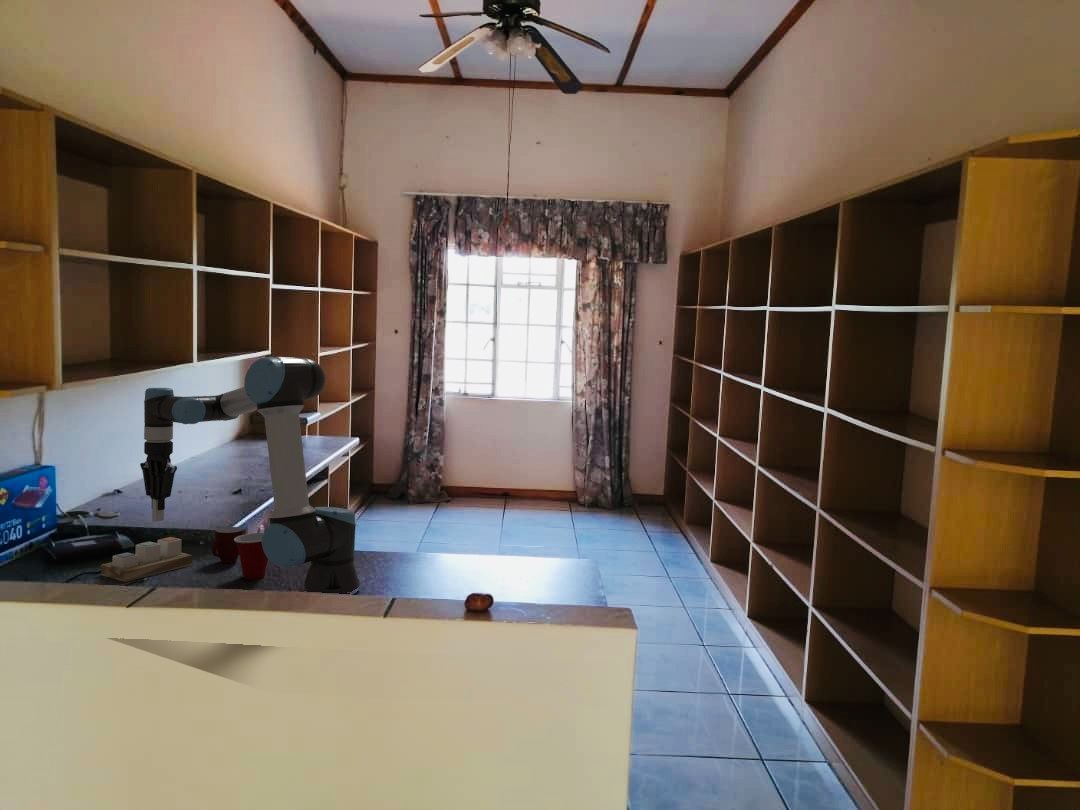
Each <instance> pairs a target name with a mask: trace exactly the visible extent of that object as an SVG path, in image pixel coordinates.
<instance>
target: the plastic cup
mask: <svg viewBox="0 0 1080 810" xmlns="http://www.w3.org/2000/svg"><path fill="white" fill-rule="evenodd" d="M263 533H264V532H252V533H246V534H243V535H241V536H238V537H236V538H235V539H234V541H235V542H236V544H237V547H238V550H239V561H240V566H241V572H242V576H243V578H244V579H246V580H257V579H262V578H264V577H265V575H266V571H267V566H268V561H269V559H268V558H267V556H266V555H265V553H264V550H263V547H262V534H263Z"/></svg>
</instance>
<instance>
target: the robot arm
mask: <svg viewBox="0 0 1080 810" xmlns="http://www.w3.org/2000/svg"><path fill="white" fill-rule="evenodd" d="M325 386H326V373H325V371H324V369H323V368H322V366H321V365H320V364H319V363H318V362H316V361H314V360H313V359H310V358H307V357H289V356H288V357H287V356H267V357H266V356H265V357H260V358H258V359H256V360H255V361H253V363H251V364H250V366H249V368H248V369H247V370H246V374H245V377H244V386H243V387H240V388H235V389H232V390H231V391H230V390H229V391H228V392H224V393H221V394H217V395H202V396H201V395H198V396H196V395H195V396H179V395H177V396H175V395H174V394H175V393H174V390H173V388H170V387H148V388H146V389H145V391H144V401H143V405H144V406H143V408H144V409H143V410H144V419H143V420H144V421H143V422H144V427H143V428H144V430H143V439H144V443H143V453H144V454H145V455H146V459H145V461H144V462H141V463H139V465H140V469H141V471H142V478H143V484H144V490H145V495H146V496H149V497H150V499H151V511H152V513H151V514H152V515H151V516H152V517H151V521H152V522H155V523H157V522H161V521H165V509H166V507H165V506H166V499H167V498H170V497H171V496H172V495H171V494H172V491H173V490H172V489H173V484H174V479H175V474H176V471H177V470H178V466H177V465H173V464H172V460H171V455H172V454H173V453H174V442H173V441H172V440H173V439H174V423H176V424H177V423H178V424H183V425H196V424H198V423H206V422H216V421H217V422H218V421H219V422H220V421H223V422H226V421H231V420H236V419H238V418H239V416H240V415H244V414H247V413H251V412H254V411H257V412H258V413H259V414H261V416H262V417H264V425H265V434H266V445H267V450H268V451H267V453H268V460H269V469H270V471H269V472H270V478H271V479H270V481H271V488H272V489H271V490H272V497H273V499H272V500H273V506H274V509H273V511H272V512H271V513H270V515H268V516H269V517H268V519H269V525H268V526H266V527H265V528H264V531H263V532H262V533H263V534H262V547H263V550H264V553H265V555H266V556H267V558H268V561H270V562H271V563H272V564H273V565H274V566H276V567H278V568H282V569H284V568H285V569H287V568H292V567H299V566H301V565H303V564H307V563H310V564H309V567H308V569H307V572H306V575H305V576H306V577H305V580H304V581H303V584H302V585H303V587H302V592H303V591H307V592H322V593H339V594H350V593H347V592H352V591H353V590H355V589H357V588H358V587H359V586H361V583H360V582H361V581H360V579H359V578H358V572H357V568H356V565H355V549H356V547H355V544H356V541H355V539H356V526H357V524H356V515H355V512H354V511H353V510H351V509H348V508H342V507H335V506H315V507H313V506H311V504H310V502H309V501H310V500H309V492H308V483H307V474H306V473H307V472H306V464H305V456H304V447H303V438H302V429H301V418H300V413H301V412H302V410H303V409H304V407H305V402H304V401H309V400H313V399H316V398H317V397H318V396H319V395H320V394H321V393H322V391H324V389H325Z"/></svg>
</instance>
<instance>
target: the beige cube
mask: <svg viewBox="0 0 1080 810" xmlns="http://www.w3.org/2000/svg"><path fill="white" fill-rule="evenodd" d="M157 544H160V557H164V558H170V557H174V556H178V555H181V553H182V539H181V538H178V537H173V536H169V537H165V538H160V539H157Z"/></svg>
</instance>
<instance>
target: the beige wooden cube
mask: <svg viewBox="0 0 1080 810" xmlns="http://www.w3.org/2000/svg"><path fill="white" fill-rule="evenodd" d="M135 555H138V562H141V563H145V564H146V563H150V562H154V561H158V560H160V544H158V542H154V541H153V542H152V541H145V542H141V543H138V544H135Z"/></svg>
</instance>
